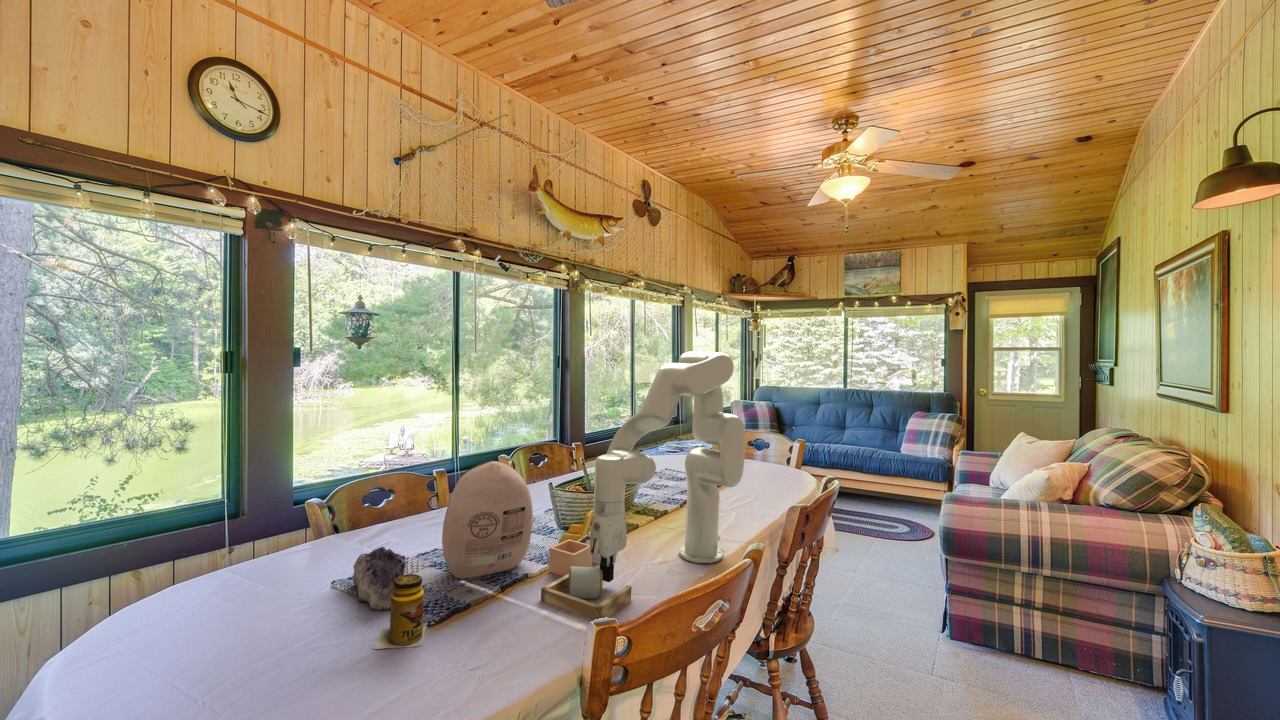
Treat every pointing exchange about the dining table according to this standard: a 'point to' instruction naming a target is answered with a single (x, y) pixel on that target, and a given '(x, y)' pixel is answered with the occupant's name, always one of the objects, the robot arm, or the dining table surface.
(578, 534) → the yellow toy chair
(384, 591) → the geode
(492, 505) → the packaged food
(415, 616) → the condiment
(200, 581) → the dining table surface
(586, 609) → the frame
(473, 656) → the dining table surface
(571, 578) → the ceramic mug
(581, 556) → the terracotta planter
